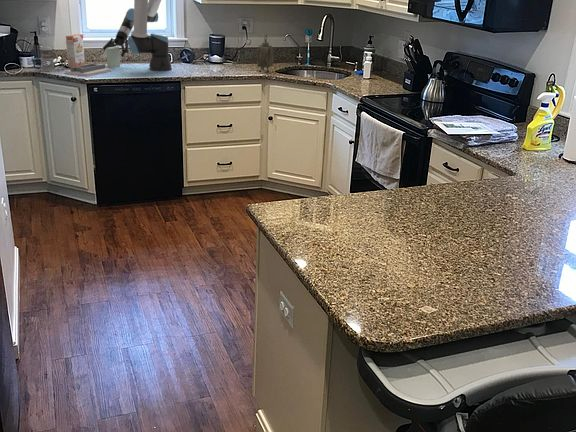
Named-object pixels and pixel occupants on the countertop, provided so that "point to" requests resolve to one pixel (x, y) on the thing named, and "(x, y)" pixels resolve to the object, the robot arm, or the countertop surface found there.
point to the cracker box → (75, 50)
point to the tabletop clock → (265, 55)
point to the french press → (44, 58)
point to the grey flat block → (88, 69)
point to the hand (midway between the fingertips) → (111, 59)
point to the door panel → (112, 57)
